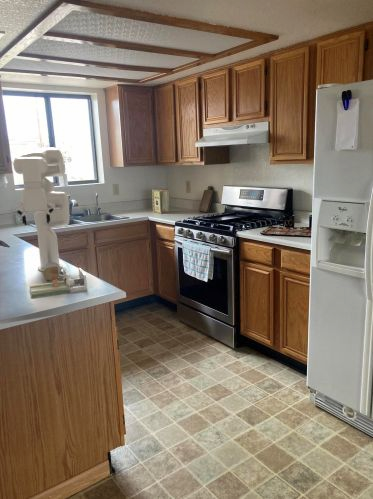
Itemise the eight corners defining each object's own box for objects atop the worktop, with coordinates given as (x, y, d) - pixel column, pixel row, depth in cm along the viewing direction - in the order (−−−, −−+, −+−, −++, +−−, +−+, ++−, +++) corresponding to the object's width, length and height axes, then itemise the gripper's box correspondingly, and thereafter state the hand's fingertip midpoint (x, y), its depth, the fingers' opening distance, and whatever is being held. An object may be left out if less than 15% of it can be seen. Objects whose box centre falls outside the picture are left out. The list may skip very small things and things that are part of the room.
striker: (51, 284, 183) (49, 265, 181) (58, 283, 184) (56, 264, 182) (52, 288, 177) (50, 268, 175) (59, 287, 178) (58, 267, 176)
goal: (64, 284, 189) (62, 267, 187) (81, 282, 192) (80, 265, 190) (68, 293, 176) (66, 275, 175) (87, 290, 179) (85, 272, 178)
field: (30, 289, 183) (29, 284, 182) (64, 284, 188) (64, 280, 188) (31, 297, 171) (31, 292, 171) (68, 292, 177) (67, 287, 176)
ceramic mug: (43, 281, 194) (42, 266, 192) (45, 277, 202) (44, 262, 200) (66, 280, 196) (65, 265, 194) (67, 276, 204) (66, 261, 202)
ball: (73, 276, 185) (74, 285, 186) (64, 278, 183) (65, 287, 184) (74, 279, 181) (76, 287, 182) (65, 281, 180) (67, 289, 181)
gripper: (52, 184, 188) (55, 221, 192) (11, 186, 181) (16, 224, 185) (54, 185, 181) (57, 223, 185) (12, 187, 174) (16, 226, 178)
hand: (36, 223), depth 185 cm, fingers open, 9 cm apart
